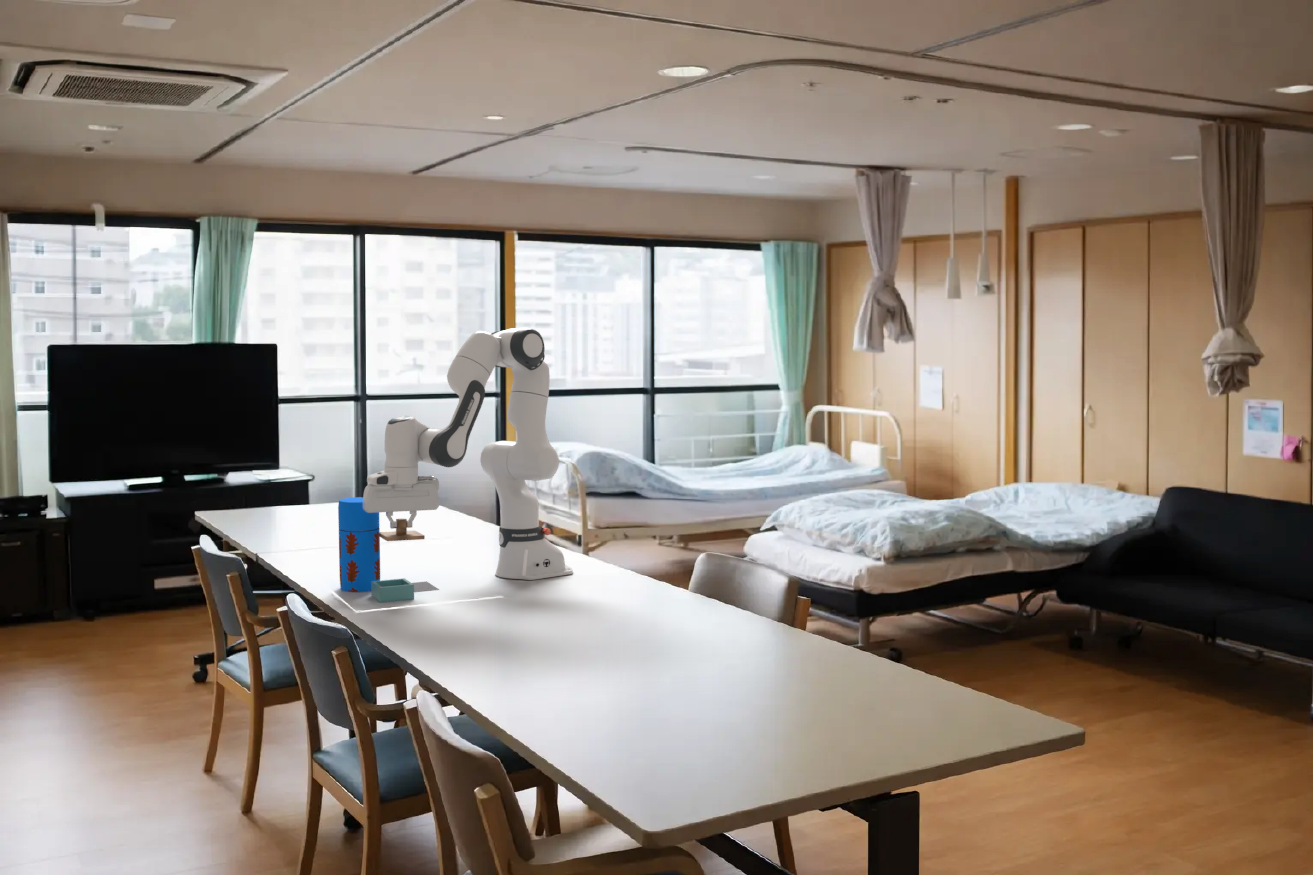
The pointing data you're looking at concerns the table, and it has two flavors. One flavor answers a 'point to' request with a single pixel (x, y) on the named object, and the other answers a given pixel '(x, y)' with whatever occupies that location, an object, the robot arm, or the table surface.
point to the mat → (423, 587)
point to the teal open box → (392, 590)
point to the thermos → (358, 546)
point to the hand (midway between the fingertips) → (401, 527)
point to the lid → (401, 533)
